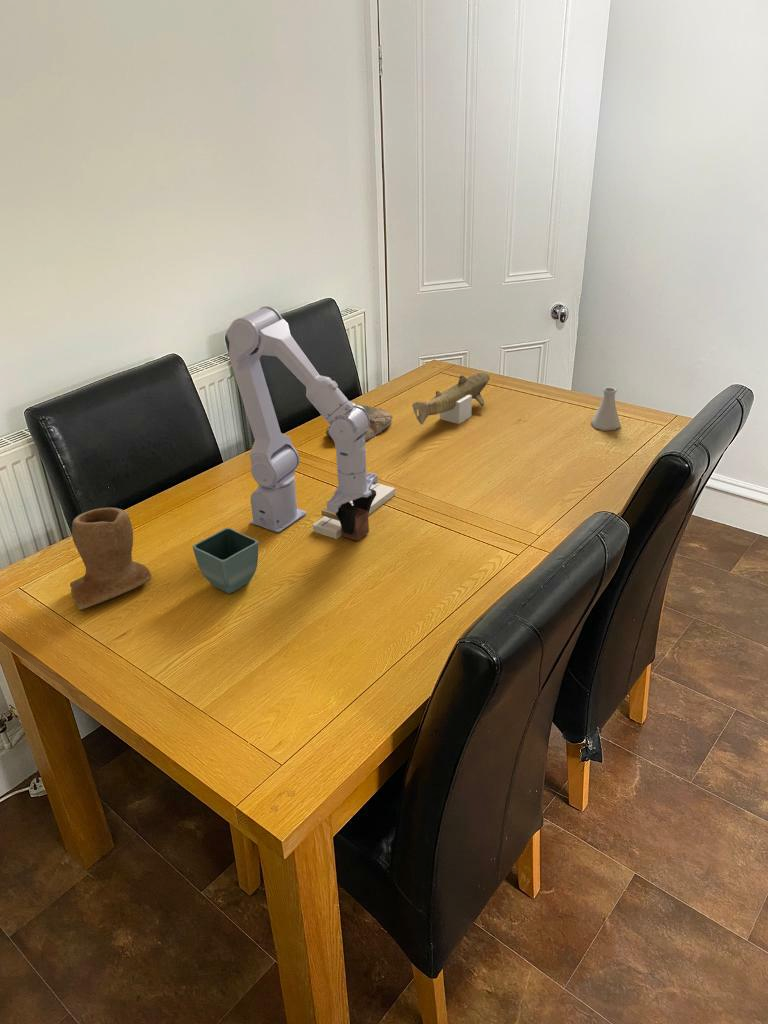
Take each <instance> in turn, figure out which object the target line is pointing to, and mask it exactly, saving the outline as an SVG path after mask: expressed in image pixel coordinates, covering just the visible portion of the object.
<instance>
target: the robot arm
mask: <svg viewBox="0 0 768 1024" xmlns="http://www.w3.org/2000/svg"><path fill="white" fill-rule="evenodd" d="M225 333H226V337H227V340H228V342H229V343H228V344H229V349H228V357H229V362H230V365H231V367H232V372H233V374H234V379H235V380H236V381H235V382H236V383H237V387H238V390H239V394H240V397H241V400H242V404H243V406H244V410H245V413H246V416H247V420H248V423H249V425H250V429H251V432H252V435H253V439H254V441H253V444H252V447H251V449H250V451H249V458H250V461H251V462H250V463H251V464H250V465H251V466H250V473H251V475H252V478H253V480H254V481H255V482H256V483H257V484H258V486H257V488H256V489H255V490H254V491H253V492H252V494H250V506H251V507H250V509H251V515H252V519H251V520H250V524H253V525H255V526H259V527H261V528H263V529H267V530H269V531H272V532H275V533H280V532H282V531H283V530H285V529H287V528H288V527H290V525H292V524H294V523H295V522H296V521H298V520H299V519H301V518H302V517H304V516H306V514H307V511H306V510H303V509H300V508H298V504H297V503H298V502H297V491H296V482H295V481H296V480H295V475H296V469H297V468H298V467H299V466H300V462H301V461H300V454H299V451H298V450H297V449H296V447H294V444H293V442H292V440H291V437H290V436H288V435H287V434H284V433H282V432H281V429H280V425H279V421H278V418H277V415H276V411H275V407H274V405H273V402H272V401H273V400H272V397H271V394H270V390H269V388H268V385H267V382H266V377H265V374H264V370H263V368H262V364H261V360H260V359H261V357H262V356H267V357H270V356H271V357H277V358H278V359H279V361H280V362H282V363H283V364H284V366H285V367H286V368H287V369H288V370H289V371H290V372H291V373H292V374H293V375H294V376H295V377H296V379H298V380H299V381H300V382H301V384H302V385H304V386H305V389H306V390H305V397H306V398H307V400H308V401H309V402H310V404H311V405H313V407H314V408H315V409H316V410H317V412H319V414H320V415H321V416H322V417H323V418H324V420H325V422H327V424H329V427H330V426H331V427H330V428H328V427H327V429H328V430H329V434H330V436H331V437H330V436H329V437H330V438H331V440H333V442H334V449H335V452H336V469H337V470H336V473H337V484H338V485H337V488H336V490H334V492H333V495H331V497H330V499H329V500H328V501H326V508H327V510H328V511H330V512H333V513H335V514H336V515H337V517H338V519H339V521H340V524H341V526H342V529H343V532H344V533H347V534H350V535H352V534H353V532H354V521H355V515H356V512H357V509H358V508H360V509H363V510H367V511H368V514H369V510H370V507H371V504H372V502H373V500H374V498H375V496H376V491H375V490H372V489H370V488H371V486H372V484H373V485H375V484H377V483H379V482H378V480H379V479H378V474H376V473H372V472H368V473H367V471H368V470H367V451H366V449H367V446H366V441H365V434H363V433H365V432H366V430H367V429H368V428H369V426H370V419H369V416H368V414H367V412H366V411H365V409H364V408H363V407H361V406H359V405H360V404H355V403H354V402H353V401H350V400H349V399H348V398H347V396H345V394H344V393H343V392H342V391H341V390H340V389H341V388H339V385H338V383H337V382H336V381H335V380H332V378H331V377H329V376H325V375H320V373H319V372H318V371H317V370H316V368H315V366H314V365H313V364H312V362H311V361H310V360H309V359H308V357H307V355H306V354H305V353H304V351H303V350H302V348H301V347H300V346H299V344H298V343H297V342H296V340H295V339H294V337H293V336H292V335H291V331H290V326H289V323H288V322H287V321H286V320H285V319H284V318H283V317H282V315H281V313H280V312H279V311H278V310H277V309H276V308H274V307H272V306H270V305H265V306H261V307H260V308H259V309H257V310H255V311H253V312H251V313H249V314H246V315H244V316H242V317H239V318H236V319H235V320H233V321H232V322H231V324H230V326H229V327H228V329H227V330H226V332H225ZM350 501H353V505H354V506H353V505H351V503H350ZM369 515H370V514H369Z"/></svg>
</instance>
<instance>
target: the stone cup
mask: <svg viewBox="0 0 768 1024" xmlns="http://www.w3.org/2000/svg"><path fill="white" fill-rule="evenodd" d="M71 537H72V541H73V543H74V546H75V548H76V550H77V552H78V554H79V556H80V558H81V561H82V562H83V564H84V568H85V574H84V575H83V576H81V577H79V578H78V579H75V580H72V581H71V582H69V586H70V588H71V589H70V592H71V595H72V600H73V601H74V604H75V606H76V608H77V609H78V610H79V611H81V610H85V609H87V608H90V607H92V606H96V605H97V604H101V603H103V602H105V601H108V600H111V599H113V598H116V597H118V596H121V595H123V594H125V593H128V592H130V591H132V590H134V589H136V588H138V587H141V586H142V585H145V584H146V583H148V582H149V581H150V580H151V579H152V573H151V571H150V570H149V568H148V567H146V565H145V564H142V563H141V562H137V561H133V556H132V553H133V547H134V545H133V544H134V530H133V525H132V522H131V518H130V515H129V514H128V513H127V512H126V511H125V510H124V509H121V508H118V507H103V508H102V507H101V508H100V507H99V508H95V509H91V510H88V511H86V512H85V511H84V512H82V513H80V514H78V515H77V516H76V517H75V518H74V519H73V521H72V524H71Z"/></svg>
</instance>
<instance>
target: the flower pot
mask: <svg viewBox="0 0 768 1024" xmlns="http://www.w3.org/2000/svg"><path fill="white" fill-rule="evenodd" d="M191 548H192V550H193V553H194V556H195V560H196V562H197V566H198V568H199V572H201V574H202V575H203V577H204V579H206V580H207V581H208V582H209V583H210V585H212V586H213V587H215V588H217V589H220V591H223V592H225V593H226V594H233V593H234V592H236V591H237V590H239V589H241V588H242V587H244V586H246V585H247V584H249V583H250V582H251V580H252V579H253V577H254V575H255V573H256V571H257V568H258V564H259V563H258V562H259V540H257V539H255V538H253V537H251V536H248V535H246V534H244V533H241V532H239V531H238V530H235V529H233V528H230V527H226V528H225V527H224V528H223V529H221V530H219V531H218V532H216V533H214V534H211V535H210V536H208V537H206V538H204V539H202V540H201V541H198V542H197V543H195V544H193V545H192V547H191Z"/></svg>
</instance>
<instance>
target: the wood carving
mask: <svg viewBox="0 0 768 1024" xmlns="http://www.w3.org/2000/svg"><path fill="white" fill-rule="evenodd" d="M490 378H491V377H490V375H489V374H488V373H485V372H480V373H479V372H478V373H475V374H473V375H471V376H469V377H465V376H464V375H459V377H458V383H456V384H455V385H453V386H451V387H449V388H447V389H445V390H443V391H442V392H440V390H437V391H435V396H434V397H432V398H431V399H430V400H429V401H420V400H417V401H413V403H412V408H413V413H414V415H415V417H416V419H417V421H418V422H419V424H420V425H424V424H425V421H426V419H427V418H428V417H429V416H436V415H439V419H440V420H442V419H443V420H442V421H447V422H449V423H454V424H458V425H460V424H461V423H464V422H465V421H466V420H468V419H470V418H471V417H472V411H473V410H472V407H473V403H472V402H473V399H475V400H476V401H477V402H478V403H479V405H480V406H481V407H483V406H484V405H485V401H484V399H483V396H482V395H481V393H482V391H483V390H484V388H485V387H486V386H487V384H488V382H489V380H490Z"/></svg>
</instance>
